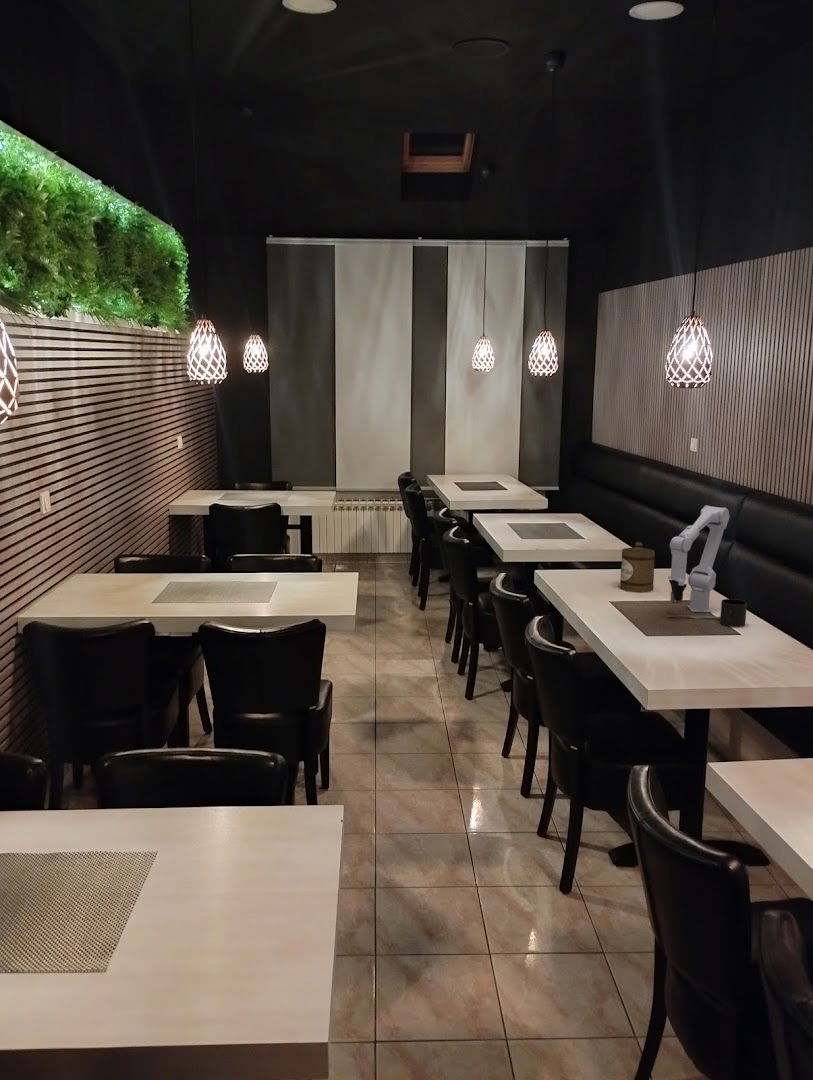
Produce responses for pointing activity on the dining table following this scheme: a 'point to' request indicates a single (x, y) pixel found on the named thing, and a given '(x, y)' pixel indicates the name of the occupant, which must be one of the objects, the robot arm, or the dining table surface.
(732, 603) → the mug
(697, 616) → the wooden stick
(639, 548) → the wooden container
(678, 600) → the die
